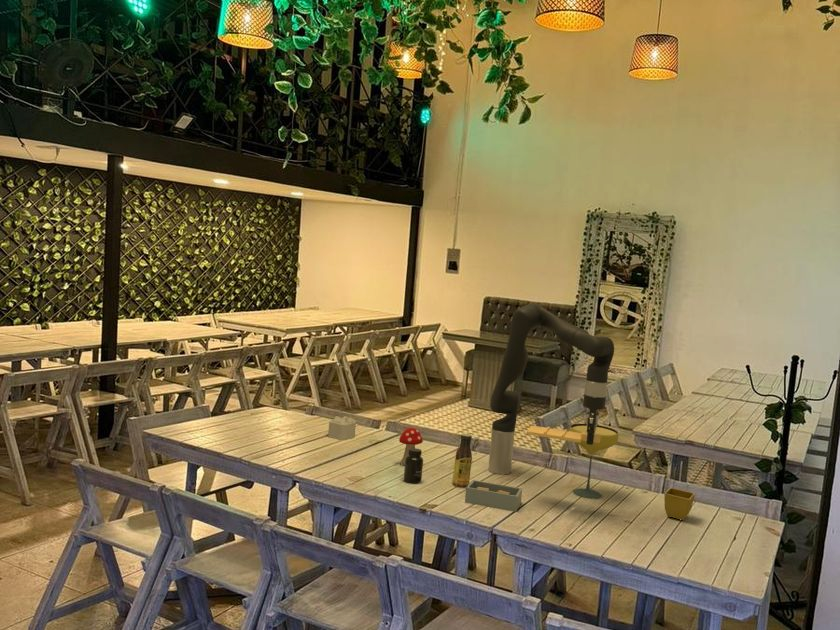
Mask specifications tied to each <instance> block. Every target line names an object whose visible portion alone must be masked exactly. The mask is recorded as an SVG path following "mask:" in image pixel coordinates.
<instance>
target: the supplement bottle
mask: <svg viewBox="0 0 840 630" xmlns="http://www.w3.org/2000/svg"><path fill="white" fill-rule="evenodd" d="M408 454H409V455H408V456H407V457H406V459H405V466H404V468H403V469H404V470H403V471H404V472H403V481H404V482H405V481H406V483H409V484H419V483H421V482H422V477H423V466H424V459H423V457H422V449H420V448H416V447H415V448H411V449H409V453H408Z"/></svg>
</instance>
